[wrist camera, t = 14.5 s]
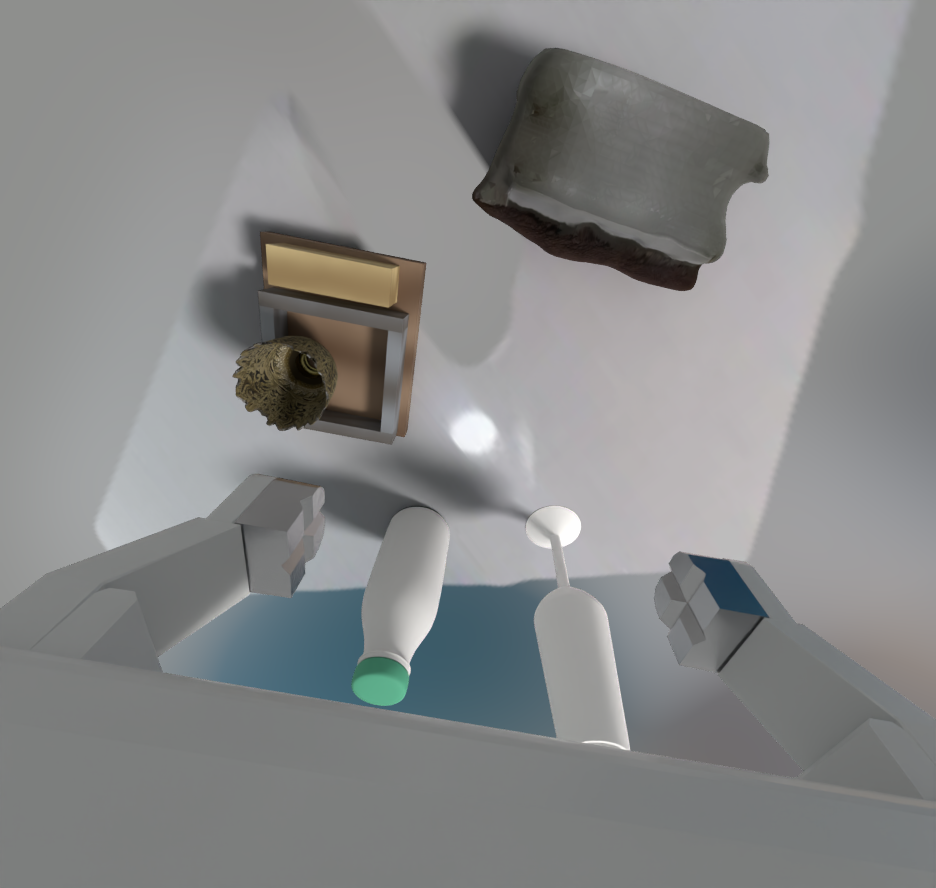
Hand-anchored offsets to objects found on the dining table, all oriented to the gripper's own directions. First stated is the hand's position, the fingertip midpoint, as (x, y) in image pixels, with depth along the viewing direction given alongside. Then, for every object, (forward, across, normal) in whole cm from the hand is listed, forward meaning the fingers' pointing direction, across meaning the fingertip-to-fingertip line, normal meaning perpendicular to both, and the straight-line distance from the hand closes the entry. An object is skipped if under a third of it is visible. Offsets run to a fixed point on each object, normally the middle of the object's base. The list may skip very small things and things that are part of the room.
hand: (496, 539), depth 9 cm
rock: (+32, -7, -10) cm, 34 cm away
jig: (+31, +14, +6) cm, 35 cm away
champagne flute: (+31, -12, +24) cm, 41 cm away
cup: (+30, +16, +8) cm, 35 cm away
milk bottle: (+31, +4, +28) cm, 42 cm away
